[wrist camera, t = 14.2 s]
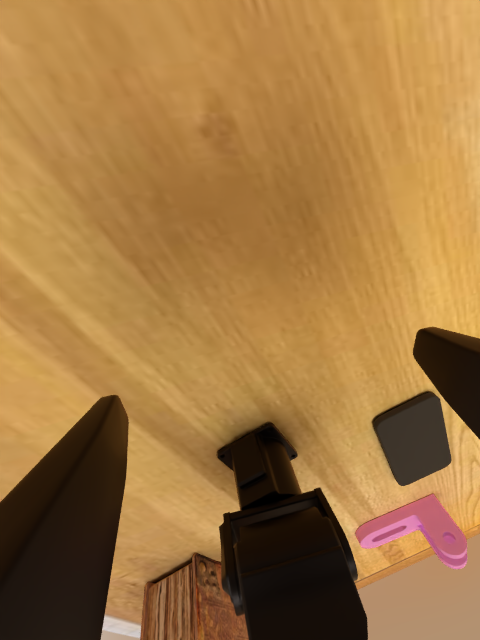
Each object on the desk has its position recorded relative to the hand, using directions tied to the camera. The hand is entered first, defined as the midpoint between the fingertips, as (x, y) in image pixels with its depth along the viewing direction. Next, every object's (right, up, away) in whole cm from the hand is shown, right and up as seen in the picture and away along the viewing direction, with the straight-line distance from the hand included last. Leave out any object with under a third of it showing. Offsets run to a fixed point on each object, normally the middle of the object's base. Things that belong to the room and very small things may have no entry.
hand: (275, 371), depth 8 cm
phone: (+20, -13, +26) cm, 35 cm away
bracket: (+23, -29, +36) cm, 52 cm away
